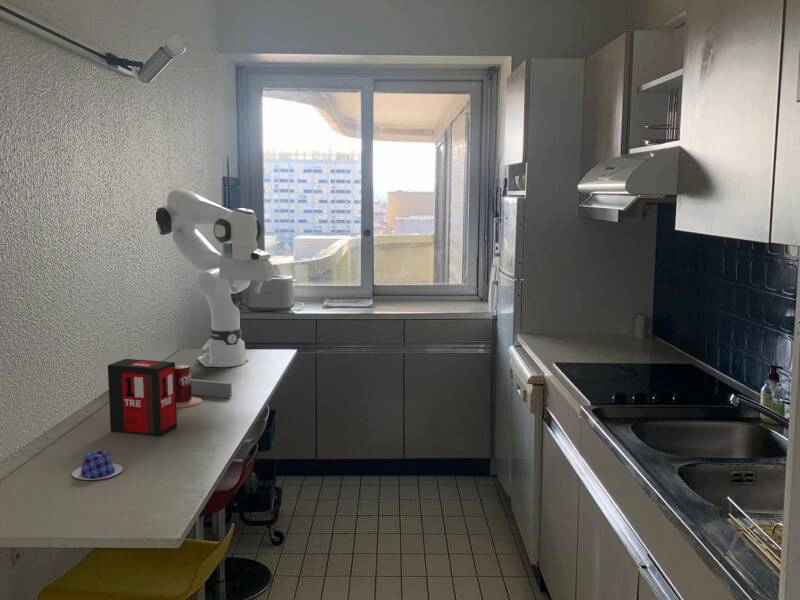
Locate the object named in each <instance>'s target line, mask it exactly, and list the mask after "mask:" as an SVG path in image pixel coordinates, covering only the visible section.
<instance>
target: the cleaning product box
mask: <svg viewBox="0 0 800 600" xmlns="http://www.w3.org/2000/svg"><path fill="white" fill-rule="evenodd" d="M175 364H176V362H173V361H162V360H160V361H158V360H148V359H147V360H146V359H134V358H124V359H121V360H118V361H115V362H112V363H110V364H107V379H108V381H107V382H108V400H109V402H108V403H109V422H110V425H109V426H110V432H111V433H118V434H127V433H128V435H129V434H130V435H139V436H140V435H141V436H148V437H150V436H151V437H156V438H157V437H158V438H162V437H163V436H165V435H167V434H168V433H170V431H171V432H172V431H174V430H176V429H177V428H178V413H177V412H178V411H177V408H176V382H175Z"/></svg>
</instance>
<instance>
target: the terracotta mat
mask: <svg viewBox="0 0 800 600" xmlns="http://www.w3.org/2000/svg"><path fill="white" fill-rule="evenodd" d="M201 402H203V399H202V398H200V397H198V396H192V400H191V401H190V402H188V403H184V404H176V409H183V408H184V409H185V407H186V408H191V406H192V407H196V406H199V405H200V403H201ZM198 404H199V405H198ZM201 404H202V403H201ZM195 405H196V406H195Z"/></svg>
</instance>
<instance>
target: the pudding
mask: <svg viewBox="0 0 800 600" xmlns="http://www.w3.org/2000/svg"><path fill="white" fill-rule="evenodd" d="M123 470H124V468H123V466H122V465H121V464H119V463H118V464H117V463H115V462H113V460H112V456H111V454H110V453H109V452H108V451H105V450H95V451H90V452H88V453H87V454H85V455H84V457H83V460H82V465H81V466H80V467H78V468H76V469H74V470H73V472H72V473H71V474H72V476H73V477H74V478H75V479H78V480H85V481H87V480H89V481H93V480H95V481H96V480H103V479H107V478H111V477H114V476H115V475H116V476H117V475H118V474H120V473H121V472H122V471H123Z"/></svg>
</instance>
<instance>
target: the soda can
mask: <svg viewBox="0 0 800 600" xmlns="http://www.w3.org/2000/svg"><path fill="white" fill-rule="evenodd" d="M191 379H192V367H191V365H190V364H187V363H177V364H176V363H175V382H176V404H184V403H188V402H190V401H191V400H192V397H193V394H192V388H191Z"/></svg>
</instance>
